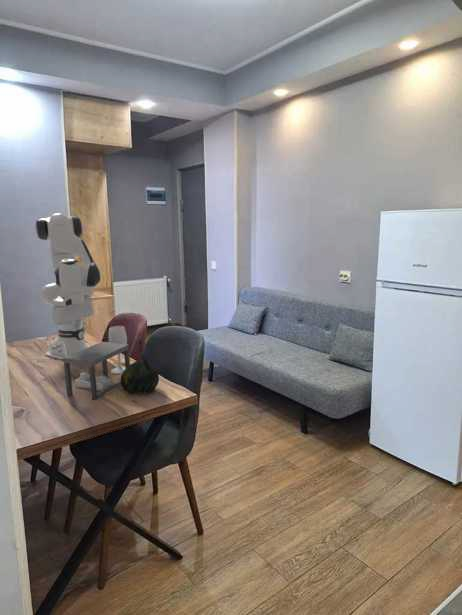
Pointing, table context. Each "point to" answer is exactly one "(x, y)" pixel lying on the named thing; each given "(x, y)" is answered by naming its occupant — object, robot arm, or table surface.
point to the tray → (100, 382)
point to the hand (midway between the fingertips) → (75, 330)
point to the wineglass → (119, 336)
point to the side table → (92, 358)
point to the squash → (140, 377)
